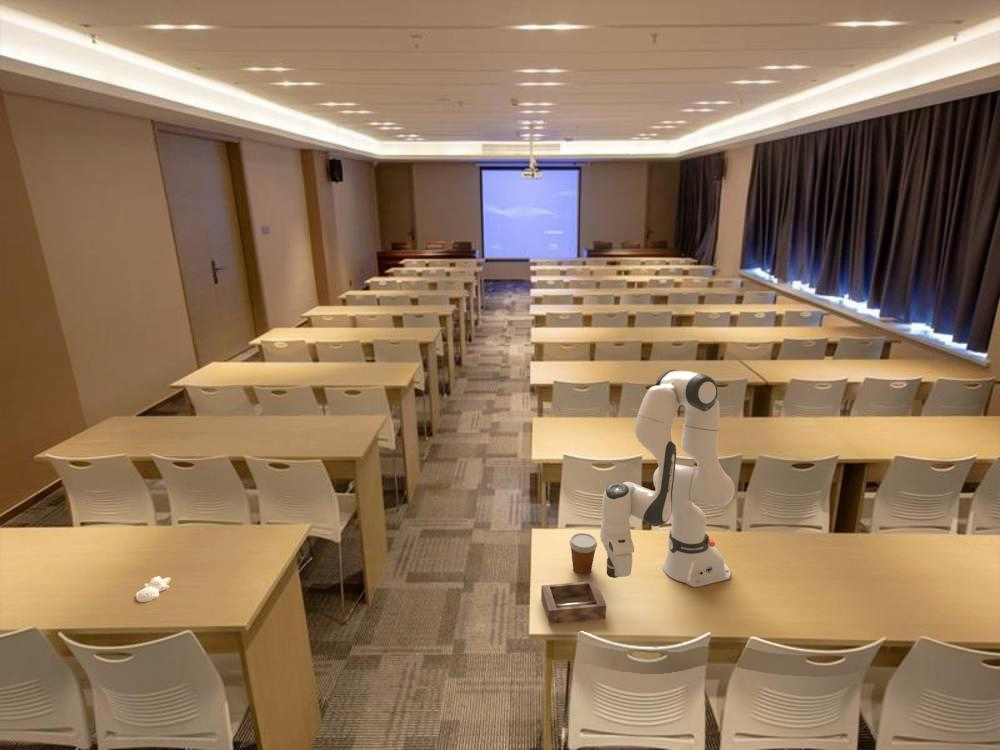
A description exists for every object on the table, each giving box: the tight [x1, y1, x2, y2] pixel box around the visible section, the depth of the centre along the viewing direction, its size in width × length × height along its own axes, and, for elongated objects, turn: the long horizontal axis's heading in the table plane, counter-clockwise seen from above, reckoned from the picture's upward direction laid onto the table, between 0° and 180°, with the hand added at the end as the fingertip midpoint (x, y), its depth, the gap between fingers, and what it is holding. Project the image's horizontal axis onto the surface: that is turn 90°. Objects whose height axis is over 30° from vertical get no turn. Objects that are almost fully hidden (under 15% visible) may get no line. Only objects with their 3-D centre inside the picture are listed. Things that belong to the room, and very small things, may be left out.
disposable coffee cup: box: [568, 532, 598, 576], centre depth 210 cm, size 10×10×12 cm
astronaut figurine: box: [135, 575, 172, 603], centre depth 202 cm, size 9×12×3 cm
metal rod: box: [555, 600, 596, 608], centre depth 189 cm, size 15×1×1 cm, turn 97°
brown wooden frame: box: [540, 580, 607, 625], centre depth 192 cm, size 18×12×5 cm, turn 97°
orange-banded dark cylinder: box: [606, 556, 620, 579], centre depth 194 cm, size 4×4×5 cm
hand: (614, 569), depth 194 cm, fingers closed on orange-banded dark cylinder, 4 cm apart
